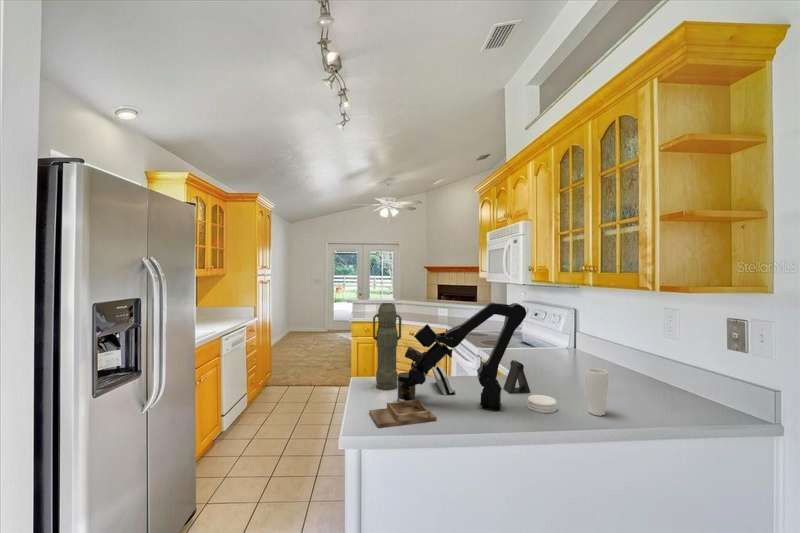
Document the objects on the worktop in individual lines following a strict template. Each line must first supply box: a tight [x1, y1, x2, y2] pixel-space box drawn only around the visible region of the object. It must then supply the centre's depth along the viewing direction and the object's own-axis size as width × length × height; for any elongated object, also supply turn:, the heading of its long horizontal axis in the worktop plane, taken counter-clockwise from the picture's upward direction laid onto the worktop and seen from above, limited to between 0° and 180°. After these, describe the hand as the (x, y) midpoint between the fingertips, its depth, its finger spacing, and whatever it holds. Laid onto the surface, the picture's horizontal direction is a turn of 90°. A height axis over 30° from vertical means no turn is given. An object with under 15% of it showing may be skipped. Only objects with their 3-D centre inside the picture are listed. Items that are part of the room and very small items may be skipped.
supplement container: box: [397, 371, 417, 402], centre depth 144 cm, size 7×7×10 cm
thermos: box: [372, 302, 403, 391], centre depth 162 cm, size 9×12×35 cm
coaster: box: [526, 394, 558, 414], centre depth 140 cm, size 10×10×4 cm
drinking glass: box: [586, 367, 609, 417], centre depth 135 cm, size 7×7×15 cm
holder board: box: [368, 399, 438, 429], centre depth 131 cm, size 20×12×3 cm, turn 108°
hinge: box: [431, 365, 457, 396], centre depth 161 cm, size 17×5×10 cm, turn 5°
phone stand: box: [503, 359, 531, 395], centre depth 159 cm, size 9×6×12 cm, turn 99°
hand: (402, 384), depth 144 cm, fingers closed on supplement container, 7 cm apart
